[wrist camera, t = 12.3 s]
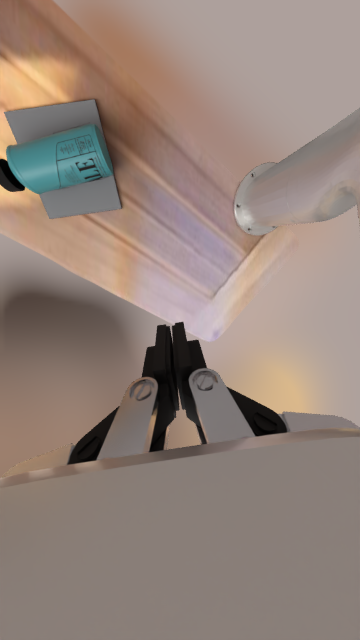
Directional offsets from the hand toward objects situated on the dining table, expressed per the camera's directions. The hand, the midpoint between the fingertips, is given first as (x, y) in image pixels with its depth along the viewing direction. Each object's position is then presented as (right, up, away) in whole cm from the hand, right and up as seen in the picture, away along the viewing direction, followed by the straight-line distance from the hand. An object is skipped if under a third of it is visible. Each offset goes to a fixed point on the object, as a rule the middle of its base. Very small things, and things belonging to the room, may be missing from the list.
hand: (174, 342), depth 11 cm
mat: (-20, +30, +20) cm, 42 cm away
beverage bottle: (-11, +30, +17) cm, 36 cm away
